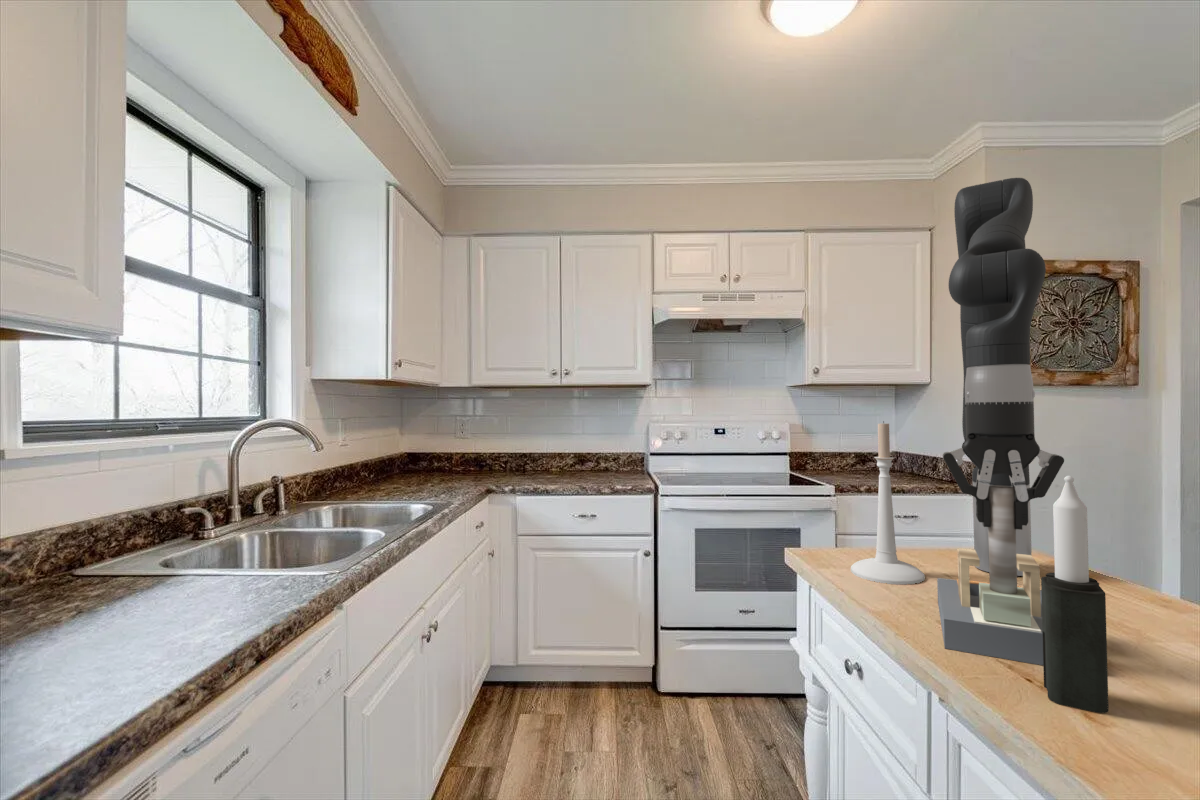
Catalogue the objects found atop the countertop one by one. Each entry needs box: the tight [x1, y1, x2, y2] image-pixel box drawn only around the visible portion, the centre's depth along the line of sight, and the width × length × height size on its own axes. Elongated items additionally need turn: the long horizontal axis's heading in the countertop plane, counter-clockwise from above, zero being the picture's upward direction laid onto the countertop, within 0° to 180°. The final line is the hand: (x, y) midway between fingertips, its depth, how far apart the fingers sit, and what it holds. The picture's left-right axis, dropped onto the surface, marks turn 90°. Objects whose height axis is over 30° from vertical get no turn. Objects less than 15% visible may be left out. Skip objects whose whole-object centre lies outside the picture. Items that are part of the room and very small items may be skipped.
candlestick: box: [850, 420, 926, 586], centre depth 107 cm, size 13×13×30 cm
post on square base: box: [979, 485, 1031, 626], centre depth 74 cm, size 5×5×18 cm
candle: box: [1040, 475, 1110, 714], centre depth 61 cm, size 5×5×25 cm
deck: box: [936, 577, 1043, 666], centre depth 79 cm, size 20×14×4 cm
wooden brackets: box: [957, 547, 1041, 617], centre depth 79 cm, size 6×9×7 cm, turn 61°
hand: (1001, 526), depth 74 cm, fingers closed on post on square base, 3 cm apart
